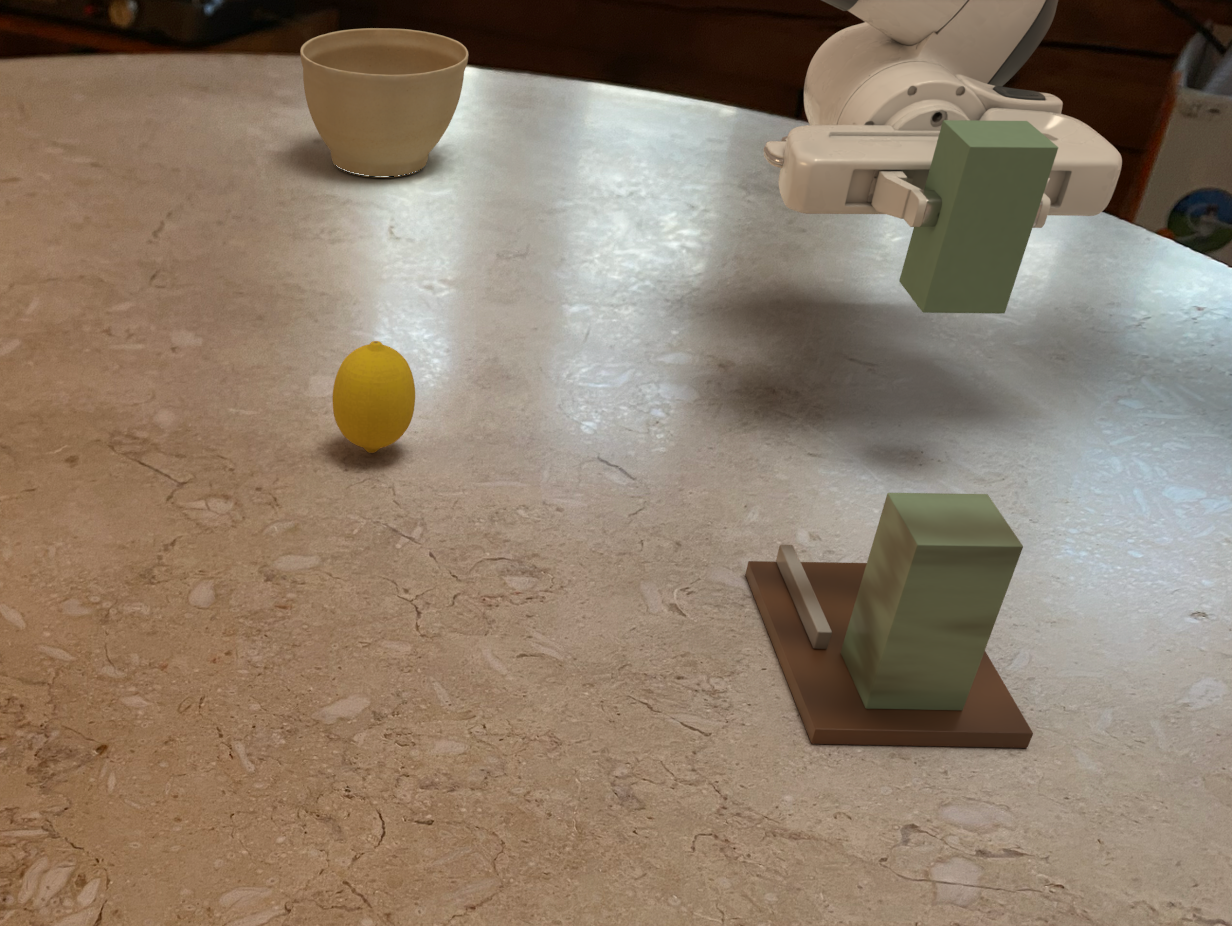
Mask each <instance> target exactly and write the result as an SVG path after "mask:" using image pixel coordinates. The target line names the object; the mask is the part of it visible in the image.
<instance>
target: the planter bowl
mask: <svg viewBox="0 0 1232 926" xmlns="http://www.w3.org/2000/svg"><path fill="white" fill-rule="evenodd" d="M299 52H300V53H299V54H300V62H301V66H302V79H303V80H302V81H303V89H304V96H305V101H306V104H307V108H308V111H309V114H310V116H311V119H312V122H313V124H314V126H315V128H316V131H317V132H318V134H319V136H320V138H321V139H322V141H323V142H324V143H325V145H326V146H327V148H328V149H329V151H330V157H331V162H332V161H333V162H332V164H333V163H334V164H335V165H337V166H338V167H340V168H342V169H345V170H347V171H350V172H354V173H359V174H364V175H369V176H394V177H393V178H399V177H400V176H398V175H402V176H401V177H404V176H409V175H413V174H415V173H416V174H417V173H418V172H420V171H421V170H423V169H424V168H425V167H426V165H427V164H428V160H429V155H430V153H431V152H432V150H433V149H434V148H435V147H436V146H437V145H438V144H439V142H440V140H441V139H442V138H443V136H444V134H445V133H446V131H447V129H449V126H450V124H451V122H452V119H453V118H454V116H455V113H456V110H457V107H458V104H459V101H460V98H461V95H462V89H463V84H464V76H465V71H466V68H467V65H468V61H469V50H468V49H467V47H466V46H465V45H464V44H463V43H462V42H460V41H458V40H456V39H454V38H451V37H448V36H445V35H441V34H437V33H433V32H428V31H424V30H423V31H422V30H415V29H407V28H406V29H405V28H392V27H391V28H389V27H388V28H379V27H376V28H375V27H374V28H373V27H370V28H369V27H368V28H367V27H366V28H353V29H351V28H350V29H343V30H337V31H332V32H331V31H330V32H328V33H325V34H324V33H323V34H321V35H320V34H319V35H318V36H315V37H312V38H310V39H308V40H307V41H305V42H304V43H303V44H302V45H301V47H300V51H299ZM334 164H333V165H334ZM335 165H334V166H335ZM424 166H425V167H424ZM423 167H424V168H423ZM422 168H423V169H422ZM420 169H421V170H420ZM418 170H419V171H418ZM415 171H417V172H415ZM343 172H344V173H346V172H345V171H343ZM412 172H414V173H412ZM409 173H411V174H409ZM404 174H407V175H404ZM353 175H355V174H353ZM355 176H356V175H355ZM358 176H359V177H361V176H360V175H358ZM369 176H364V177H366V178H370V177H369ZM378 178H381V179H382V178H385V179H386V178H388V177H378Z"/></svg>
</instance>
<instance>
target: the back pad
mask: <svg viewBox="0 0 1232 926" xmlns="http://www.w3.org/2000/svg"><path fill="white" fill-rule="evenodd" d="M1057 151H1058V147H1057V146H1056V145H1055V144H1054V143H1053V142H1052V141H1050V140H1049V139H1048V138H1047V137H1046V136H1044V135H1043V134H1042V133H1041V132H1040V131H1039V130H1037V129H1036V128H1035V127H1034V126H1033V125H1031V124H1030V123H1029V122H1028V121H977V120H943V122H942V126H941V130H940V133H939V137H938V141H937V144H936V148H935V152H934V155H933V159H932V163H931V166H930V170H929V174H928V177H927V181H926V185H925V188H924V190H935V191H936V192H937V193H938V196H940V197H941V198H942V207H941V211H940V213H939V214H938V217H939V218H938V221H937V224H936V226H935V227H913V229H912V233H911V237H910V239H909V242H908V247H907V251H906V255H905V258H904V262H903V265H902V269H901V273H900V277H899V280H898V281H899V283H900V285H901V286H902V287H903V289H904V290H905V292H907V294H908V295H909V296H910V298H911V300H912V301H913V302H914V303H915V304H916V306H917V307H918V308H919V310H920V311H921V312H922V313H923V314H932V313H933V314H1001V315H1003V314H1006V310H1007V308H1008V305H1009V301H1010V298H1011V296H1012V293H1013V289H1014V286H1015V282H1016V281H1017V280H1016V279H1017V277H1018V273H1019V270H1020V267H1021V265H1022V261H1023V258H1024V255H1025V252H1026V250H1027V246H1028V242H1029V240H1030V237H1031V233H1032V230H1033V229H1034V228H1033V225H1034V222H1035V218H1036V215H1037V212H1038V209H1039V206H1040V203H1041V200H1042V197H1043V194H1044V191H1045V188H1046V185H1047V181H1048V178H1049V175H1050V172H1051V169H1052V166H1053V163H1054V160H1055V157H1056V154H1057Z"/></svg>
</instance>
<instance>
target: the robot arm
mask: <svg viewBox="0 0 1232 926" xmlns="http://www.w3.org/2000/svg"><path fill="white" fill-rule="evenodd" d="M821 2H824V3H826V4H828V5H830V6H832V7H834V8H836V9H838V10H840V11H843V12H849V13H850V14H852V15H854V16H855V17H857V18H858V19H860V20H861V21H863V22H861V23H858V24H855V25H851V26H848V27H845V28H843V29H841V30H839V31H837V32H836V33H833V34H832V35H831V36H830V37H828V38H827V40H825V41H824V42H823V43H822V44H821V45H820V47H818V49H817V50H816V52H815V54H814V55H813V57H812V58H811V60H810V62H809V65H808V68H807V70H806V73H805V74H806V75H805V79H804V85H803V107H804V112H805V116H806V119H807V121H808V124H807V125H800V126H796V127H794V128H792V129H791V130H790V131H789V132H788V134H787V135H786V136H783V137H782V138H781V139H780V141H779V140H778V141H777V140H771V141H767V142H766V143H765V146H764V147H763V150H762V151H763V157H764V159H766V161H767V162H768V164H769V165H771V166H773V167H776V168H779V169H780V170H779V176H778V188H779V189H778V190H779V193H780V196H781V200H782V201H783V204H784V205H785V207H786V208H788V209H790V210H791V211H794V212H797V213H801V214H805V215H887V216H891V217H894V218H897V219H900V220H904V221H905V223H906V224H907V225H908V226H909V228H914V227H935V226H936V224H937V221H938V218H939V217H938V214H939V213H940V211H941V207H942V198H941V197H940V196H938V193H937V192H936V191H935V190H924V188H925V185H926V181H927V177H928V174H929V170H930V166H931V163H932V159H933V155H934V152H935V148H936V144H937V141H938V137H939V133H940V130H941V126H942V122H943V120H977V121H1028V122H1029V123H1030V124H1031V125H1033V126H1034V127H1035V128H1036V129H1037V130H1039V131H1040V132H1041V133H1042V134H1043V135H1044V136H1046V137H1047V138H1048V139H1049V140H1050V141H1052V142H1053V143H1054V144H1055V145H1056V146H1057V147H1058V151H1057V154H1056V157H1055V160H1054V163H1053V166H1052V169H1051V172H1050V175H1049V178H1048V181H1047V185H1046V188H1045V191H1044V194H1043V197H1042V200H1041V203H1040V206H1039V209H1038V212H1037V215H1036V218H1035V222H1034V225H1033V228H1032V229H1042V228H1043V227H1044V226H1045V224H1046V221H1047V218H1048V216H1059V217H1060V216H1070V217H1074V216H1075V217H1095V216H1098V215H1100V214H1101V213H1102V212H1103V211H1104V210H1105V209H1106V208H1107V207H1108V205H1109V203H1110V201H1111V200H1112V197H1113V195H1114V193H1115V190H1116V188H1117V184H1118V181H1119V178H1120V175H1121V171H1122V167H1123V166H1122V165H1123V158H1122V155H1121V153H1120V152H1119V151H1118V149H1117V148H1116V147H1115V146H1114V145H1113V144H1112V143H1111V142H1109V141H1108V140H1107V139H1106V138H1105V136H1102V135H1101V134H1100V133H1098V131H1096V130H1095V129H1093V128H1092V127H1091V126H1090V125H1088V124H1087V123H1085V122H1083V121H1081V120H1080V119H1077V118H1075V117H1073V116H1069V115H1066V114H1063V113H1062V110H1063V105H1064V103H1063V100H1061V98H1060V97H1058V96H1056V95H1055V94H1051V93H1048V92H1042V91H1041V92H1040V91H1036V90H1028V89H1022V88H1015V87H1008V86H1005V85H1006V83H1007V82H1009V81H1010V79H1012V78H1013V77H1014V76H1015V75H1016V74H1017V73H1018V72H1019V70H1020V69H1021V68H1022V67H1023V66H1024V65H1025V64H1026V62H1027V61H1028V60H1029V59H1030V58H1031V56H1032V55H1033V53H1034V52H1035V51H1036V50H1037V48H1038V47H1039V46H1040V44H1041V42H1042V41H1043V39H1044V38H1045V36H1046V35H1047V33H1048V31H1049V29H1050V27H1051V25H1052V23H1053V21H1054V18H1055V15H1056V11H1057V8H1058V2H1059V0H821Z"/></svg>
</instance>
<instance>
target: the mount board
mask: <svg viewBox="0 0 1232 926" xmlns="http://www.w3.org/2000/svg"><path fill="white" fill-rule="evenodd" d="M1023 549H1024V545H1023V544H1022V542H1021V541H1020V539H1019V537H1017V535H1016V534H1015V532H1014V530H1013V529H1012V527H1011V526H1010V525H1009V523H1008V522H1007V521H1006V519H1005V517H1004V516H1003V515H1002V513H1001V512H1000V510H999V509H998V507H997V506H996V504H995V503H994V501H993V500H992V498H991V496H989V494H988V493H946V492H945V493H943V492H941V493H940V492H939V493H938V492H937V493H936V492H887V493H886V497H885V500H884V503H883V507H882V511H881V513H880V517H879V520H878V524H877V527H876V531H875V534H874V537H873V541H872V544H871V548H870V551H869V554H868V557H867V561H866V562H839V561H837V562H835V561H834V562H829V561H827V562H826V561H822V562H821V561H801V560H800V558H799V556H798V554H797V553H798V552H797V551H796V549H795V547H794V545H793V544H779V547H778V549H777V550H778V551H777V554H776V559H775V561H774V560H773V561H771V560H770V561H769V560H768V561H767V560H766V561H765V560H749V561H748V562H747V565H746V566H747V567H746V569H745V573H744V575H745V577H746V580H747V583H748V586H749V588H750V591H751V593H752V597H753V598H754V601H755V603H756V606H757V608H758V611H759V613H760V615H761V618H762V621H763V624H764V626H765V629H766V632H767V634H768V636H769V639H770V642H771V644H772V647H773V649H774V651H775V654H776V657H777V660H778V661H779V665H780V667H781V669H782V672H783V674H784V677H785V679H786V682H787V685H788V688H789V690H790V693H791V695H792V698H793V700H794V703H795V705H796V708H797V709H798V710H797V711H798V713H799V715H800V718H801V721H802V723H803V726H804V728H805V731H806V733H807V736H808V738H809V741H810V743H811V744H812V745H814V744H815V745H852V746H853V745H855V746H856V745H858V746H859V745H861V746H904V747H905V746H910V747H956V748H957V747H959V748H962V747H964V748H1007V749H1008V748H1012V749H1028V748H1029V745H1030V743H1031V740H1032V738H1033V736H1034V731H1033V730H1032V728H1031V727H1030V725H1029V724H1028V722H1027V720H1026V718H1025V717H1024V715H1023V713H1022V711H1021V710H1020V708H1019V706H1018V705H1017V703H1016V701H1015V700H1014V698H1013V696H1012V694H1011V692H1010V691H1009V689H1008V687H1007V686H1006V684H1005V682H1004V680H1003V679H1002V677H1001V676H1000V673H999V672H998V670H997V668H996V667H995V665H994V664H993V662H992V660H991V658H990V657H989V654H988V653H987V652H986V648H987V646H988V643H989V640H990V639H991V635H992V632H993V630H994V626H995V624H996V622H997V619H998V617H999V613H1000V610H1001V608H1002V605H1003V603H1004V600H1005V598H1006V594H1007V591H1008V589H1009V587H1010V583H1011V580H1012V578H1013V576H1014V573H1015V570H1016V568H1017V565H1018V562H1019V561H1020V560H1019V559H1020V556H1021V554H1022V551H1023Z"/></svg>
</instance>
